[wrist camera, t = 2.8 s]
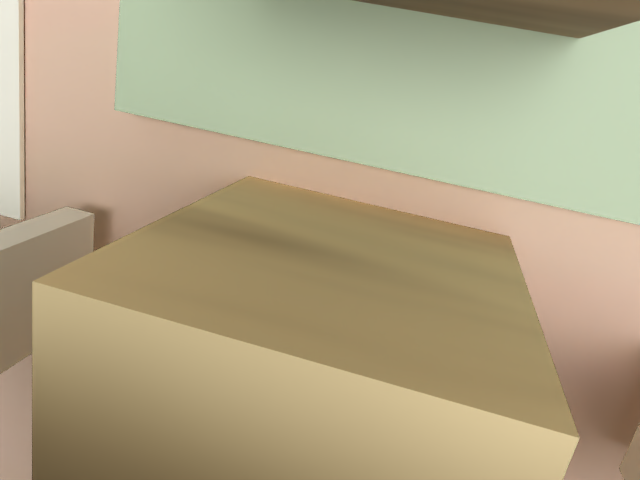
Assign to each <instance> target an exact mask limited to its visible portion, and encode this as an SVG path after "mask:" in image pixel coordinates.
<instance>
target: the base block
mask: <svg viewBox="0 0 640 480" xmlns="http://www.w3.org/2000/svg"><path fill="white" fill-rule="evenodd" d="M353 1H359V2H365V3H370V4H376V5H382V6H388V7H394V8H400V9H406V10H412V11H418V12H424V13H430V14H436V15H442V16H448V17H454V18H460V19H466V20H472V21H478V22H483V23H489V24H495V25H501V26H507V27H513V28H519V29H525V30H531V31H537V32H543V33H549V34H555V35H561V36H567V37H573V38H579V39H580V38H583V37H586V36H590V35H593V34H596V33H600V32H603V31H606V30H610V29H613V28H617V27H620V26H623V25H627V24H630V23H633V22H637V21H640V0H353Z"/></svg>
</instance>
